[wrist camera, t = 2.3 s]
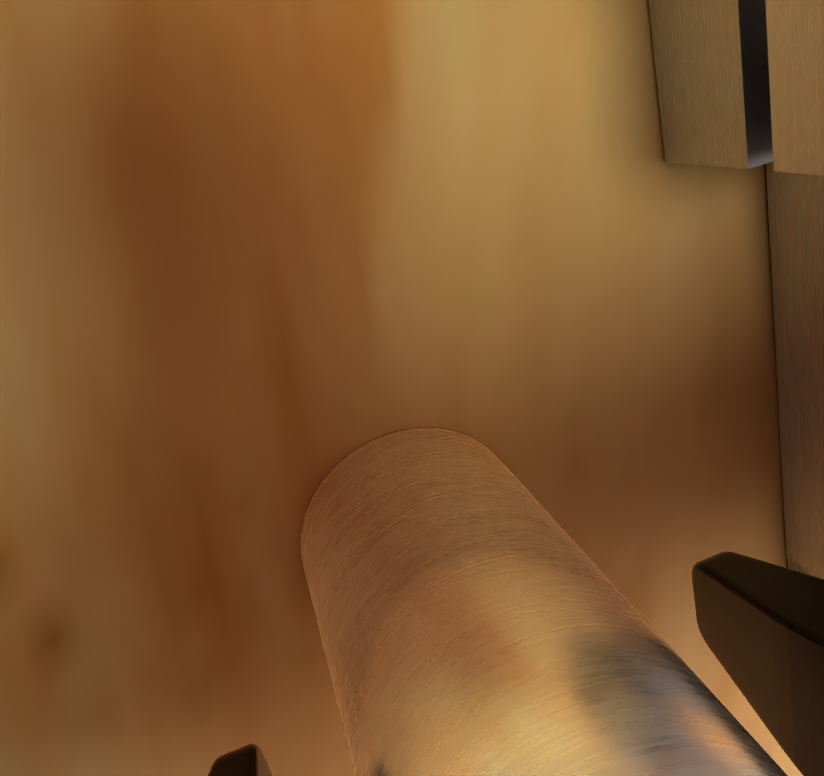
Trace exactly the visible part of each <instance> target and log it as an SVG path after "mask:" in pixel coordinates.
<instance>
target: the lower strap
mask: <svg viewBox="0 0 824 776" xmlns="http://www.w3.org/2000/svg"><path fill="white" fill-rule="evenodd" d="M648 1H649V11H650V20H651V30H652V40H653V49H654V59H655V68H656V78H657V88H658V97H659V107H660V116H661V126H662V136H663V145H664V155H665V162H671V163H682V164H694V165H706V166H718V167H729V168H741V169H750V168H753V167H757V166H760V165H763V164H766V175H767V194H768V213H769V232H770V251H771V270H772V289H773V308H774V327H775V346H776V365H777V384H778V403H779V422H780V441H781V460H782V479H783V498H784V517H785V536H786V555H787V563H788V569H791V570H794V571H797V572H801V573H804V574H808V575H811V576H814V577H818V578H821V579H824V176H823V175H812V174H800V173H788V172H776V171H774V166H773V146H772V125H771V105H770V84H769V64H768V43H767V23H766V2H765V0H648Z"/></svg>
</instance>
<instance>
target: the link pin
mask: <svg viewBox="0 0 824 776" xmlns="http://www.w3.org/2000/svg"><path fill="white" fill-rule="evenodd" d="M300 549H301V557H302V563H303V567H304V571H305V575H306V579H307V583H308V587H309V591H310V595H311V599H312V604H313V608H314V612H315V616H316V620H317V624H318V628H319V632H320V636H321V640H322V644H323V648H324V652H325V656H326V660H327V664H328V668H329V672H330V676H331V680H332V684H333V688H334V692H335V696H336V700H337V704H338V708H339V712H340V716H341V720H342V724H343V728H344V732H345V736H346V740H347V744H348V748H349V752H350V756H351V760H352V764H353V768H354V772H355V776H787V775H786V774H785V772H784V771H783V770H782V769H781V768H780V767H779V766H778V765H777V764H776V763H775V761H774V760H773V759H772V758H771V757H770V756H769V755H768V754H767V753H766V752H765V750H764V749H763V748H762V747H761V746H760V745H759V744H758V743H757V742H756V741H755V739H754V738H753V737H752V736H751V735H750V734H749V733H748V732H747V731H746V730H745V728H744V727H743V726H742V725H741V724H740V723H739V722H738V721H737V720H736V719H735V717H734V716H733V715H732V714H731V713H730V712H729V711H728V710H727V709H726V708H725V706H724V705H723V704H722V703H721V702H720V701H719V700H718V699H717V698H716V697H715V695H714V694H713V693H712V692H711V691H710V690H709V689H708V688H707V687H706V686H705V684H704V683H703V682H702V681H701V680H700V679H699V678H698V677H697V676H696V675H695V673H694V672H693V671H692V670H691V669H690V668H689V667H688V666H687V665H686V664H685V662H684V661H683V660H682V659H681V658H680V657H679V656H678V655H677V654H676V653H675V651H674V650H673V649H672V648H671V647H670V646H669V645H668V644H667V643H666V642H665V640H664V639H663V638H662V637H661V636H660V635H659V634H658V633H657V632H656V631H655V629H654V628H653V627H652V626H651V625H650V624H649V623H648V622H647V621H646V620H645V618H644V617H643V616H642V615H641V614H640V613H639V612H638V611H637V610H636V609H635V608H634V606H633V605H632V604H631V603H630V602H629V601H628V600H627V599H626V598H625V597H624V595H623V594H622V593H621V592H620V591H619V590H618V589H617V588H616V587H615V586H614V584H613V583H612V582H611V581H610V580H609V579H608V578H607V577H606V576H605V575H604V573H603V572H602V571H601V570H600V569H599V568H598V567H597V566H596V565H595V564H594V562H593V561H592V560H591V559H590V558H589V557H588V556H587V555H586V554H585V553H584V551H583V550H582V549H581V548H580V547H579V546H578V545H577V544H576V543H575V542H574V540H573V539H572V538H571V537H570V536H569V535H568V534H567V533H566V532H565V531H564V529H563V528H562V527H561V526H560V525H559V524H558V523H557V522H556V521H555V520H554V518H553V517H552V516H551V515H550V514H549V513H548V512H547V511H546V510H545V509H544V507H543V506H542V505H541V504H540V503H539V502H538V501H537V500H536V499H535V498H534V496H533V495H532V494H531V493H530V492H529V491H528V490H527V489H526V488H525V487H524V485H523V484H522V483H521V482H520V481H519V480H518V479H517V478H516V477H515V476H514V474H513V473H512V472H511V471H510V470H509V469H508V468H507V467H506V466H505V465H504V463H503V462H502V461H501V460H500V459H499V458H498V457H497V456H496V455H495V454H494V453H493V452H492V451H491V450H490V449H488V448H487V447H486V446H485V445H483V444H482V443H480V442H478V441H477V440H475V439H473V438H471V437H469V436H466V435H464V434H461V433H459V432H455V431H450V430H446V429H438V428H414V429H408V430H401V431H397V432H394V433H390V434H387V435H384V436H382V437H379V438H377V439H374V440H372V441H370V442H368V443H366V444H365V445H363V446H361V447H359V448H357V449H356V450H355V451H353V452H352V453H351V454H349V455H348V456H346V457H345V458H344V459H343V460H342V461H341V462H339V463H338V464H337V465H336V466H335V467H334V468H333V469H332V470H331V471H330V473H329V474H328V475H327V476H326V477H325V478H324V480H323V481H322V482H321V484H320V485H319V487H318V489H317V490H316V492H315V493H314V495H313V497H312V499H311V501H310V503H309V505H308V508H307V511H306V514H305V517H304V520H303V525H302V531H301V544H300Z"/></svg>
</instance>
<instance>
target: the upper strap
mask: <svg viewBox="0 0 824 776" xmlns="http://www.w3.org/2000/svg"><path fill="white" fill-rule="evenodd" d="M765 2H766V23H767V43H768V64H769V84H770V105H771V125H772V146H773V166H774V171H776V172H788V173H800V174H812V175H823V176H824V0H765Z"/></svg>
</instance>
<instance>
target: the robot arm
mask: <svg viewBox="0 0 824 776" xmlns="http://www.w3.org/2000/svg"><path fill="white" fill-rule="evenodd" d="M692 582H693V591H694V599H695V608H696V617H697V623H698V627H699V630H700V632H701V634H702V637H703V638H704V640H705V642H706V643H707V645H708V646H709V648H710V649H711V651H712V652H713V653H714V655H715V656H716V658H717V659H718V660H719V662H720V663H721V664H722V666H723V667H724V669H725V670H726V671H727V673H728V674H729V676H730V677H731V678H732V680H733V681H734V683H735V684H736V685H737V687H738V688H739V689H740V691H741V692H742V694H743V695H744V696H745V698H746V699H747V701H748V702H749V703H750V705H751V706H752V707H753V709H754V710H755V712H756V713H757V714H758V716H759V717H760V719H761V720H762V721H763V723H764V724H765V726H766V727H767V728H768V730H769V731H770V732H771V734H772V735H773V737H774V738H775V739H776V741H777V742H778V744H779V745H780V746H781V748H782V749H783V750H784V752H785V753H786V754H787V756H788V757H789V758H790V759H791V761H792V762H793V763H794V765H795V766H796V767H797V768H798V770H799V771H800V772H801V773H802V774H803V776H824V579H821V578H818V577H814V576H811V575H808V574H804V573H801V572H797V571H794V570H791V569H787V568H784V567H781V566H777V565H774V564H771V563H767V562H764V561H761V560H757V559H754V558H751V557H747V556H744V555H740V554H737V553H733V552H722V553H719V554H716V555H714V556H712V557H709V558H707V559H704V560H702V561H699V562H697V563H696V564H695V565H694V567H693V570H692ZM208 776H272V774H271V771H270V769H269V767H268V765H267V762H266V760H265V758H264V756H263V753H262V751H261V750H260V748H259V747H258V746H257V745H254V744H249V745H246V746H244V747H242V748H239V749H237V750H234V751H232V752H229V753H227V754H224V755H222V756H220V757H219V758H217V759H216V761H215V762H214V763H213V765H212V767H211V769H210V772H209V774H208Z"/></svg>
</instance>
